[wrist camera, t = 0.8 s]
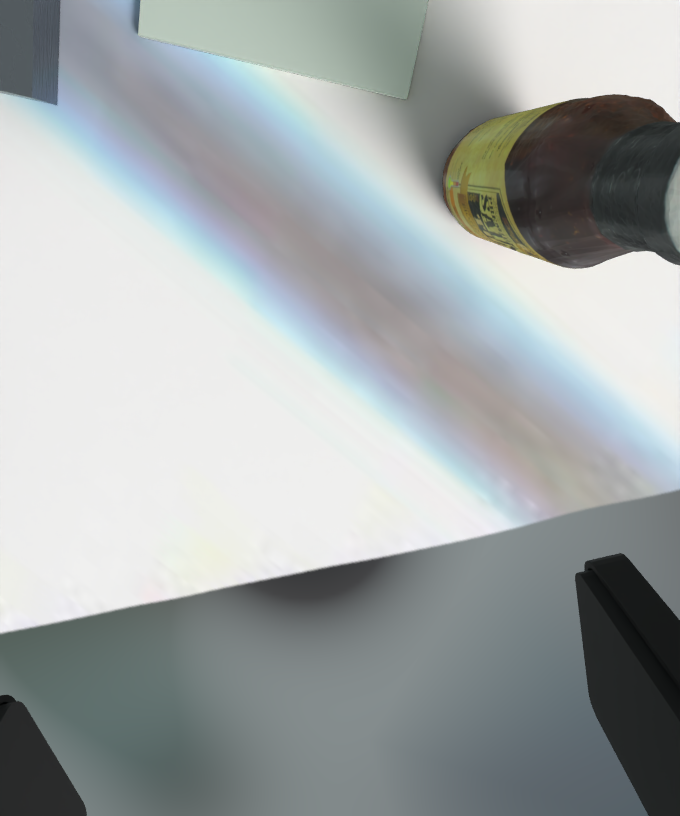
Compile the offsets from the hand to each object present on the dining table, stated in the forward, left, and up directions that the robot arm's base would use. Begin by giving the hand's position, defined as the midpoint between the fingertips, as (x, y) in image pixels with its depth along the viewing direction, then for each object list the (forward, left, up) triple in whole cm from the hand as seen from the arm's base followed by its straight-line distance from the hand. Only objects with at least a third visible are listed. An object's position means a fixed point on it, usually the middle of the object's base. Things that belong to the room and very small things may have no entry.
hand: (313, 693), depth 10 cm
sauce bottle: (-10, +9, -28) cm, 31 cm away
